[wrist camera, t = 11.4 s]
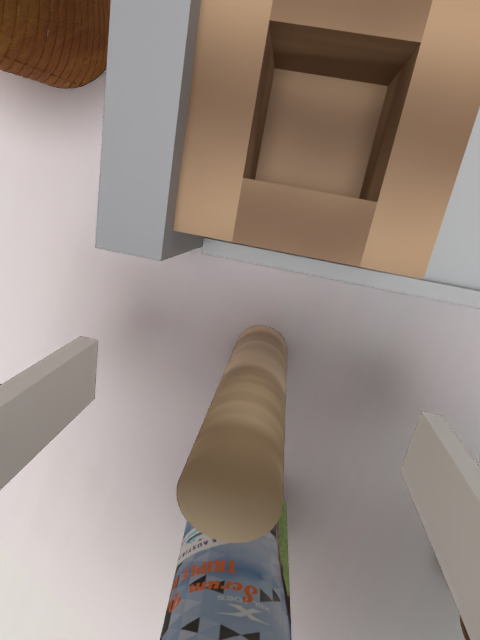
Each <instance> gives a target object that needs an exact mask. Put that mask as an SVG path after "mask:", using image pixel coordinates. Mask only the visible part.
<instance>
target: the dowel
mask: <svg viewBox="0 0 480 640" xmlns="http://www.w3.org/2000/svg"><path fill="white" fill-rule="evenodd" d="M286 370H287V346H286V342H285V340H284V338H283V337H282V336H281V334H280V333H279V332H277V331H276V330H274V329H272V328H270V327H267V326H255V327H251V328H249V329H247V330H246V331H244V332H243V333H242V334H241V336H240V337H239V339H238V341H237V343H236V346H235V348H234V350H233V353H232V355H231V357H230V360H229V362H228V365H227V367H226V369H225V372H224V374H223V376H222V379H221V381H220V383H219V386H218V388H217V391H216V393H215V395H214V398H213V400H212V402H211V405H210V407H209V410H208V412H207V414H206V417H205V419H204V421H203V424H202V426H201V428H200V431H199V433H198V436H197V438H196V440H195V443H194V445H193V447H192V450H191V452H190V455H189V457H188V459H187V462H186V464H185V466H184V469H183V471H182V474H181V476H180V478H179V481H178V484H177V492H176V493H177V501H178V505H179V507H180V510H181V512H182V514H183V515H184V517H185V518H186V520H187V521H188V522H189V523H190V524H191V525H192V526H193V527H194V528H195V529H197V530H198V531H199V532H201V533H202V534H204V535H206V536H208V537H210V538H213V539H215V540H219V541H223V542H229V543H243V542H249V541H253V540H255V539H258V538H260V537H262V536H264V535H265V534H267V533H268V532H269V531H270V530H271V529H272V528H273V527H274V526H275V525H276V524H277V522H278V520H279V518H280V515H281V512H282V503H283V470H284V436H285V403H286Z"/></svg>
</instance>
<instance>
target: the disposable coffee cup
mask: <svg viewBox="0 0 480 640" xmlns="http://www.w3.org/2000/svg"><path fill="white" fill-rule="evenodd" d="M110 5H111V0H0V70H3V71H5V72H10V73H13V74H15V75H19V76H23V77H25V78H29V79H32V80H35V81H39V82H41V83H45V84H48V85H50V86H53V87H58V88H75V87H80V86H83V85H85V84H87V83H88V82H90V81H92V80H94V79H95V78H97V77H98V76H99V75H100V74H101V73H102V72H103V71H104V70H105V68H106V67H107V53H108V37H109V21H110Z"/></svg>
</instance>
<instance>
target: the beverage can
mask: <svg viewBox="0 0 480 640" xmlns="http://www.w3.org/2000/svg"><path fill="white" fill-rule="evenodd" d="M160 640H291V616H290V590H289V564H288V538H287V512H286V504H285V500H284V498H283V503H282V512H281V515H280V518H279V520H278V522H277V524H276V525H275V526H274V527H273V528H272V529H271V530H270V531H269V532H268V533H267V534H265V535H264V536H262V537H260V538H258V539H255V540H253V541H249V542H243V543H229V542H223V541H219V540H215V539H213V538H210V537H208V536H206V535H204V534H202V533H201V532H199V531H198V530H197V529H195V528H194V527H193V526H192V525H191V524H190V523H189V522H188V521H187V524H186V528H185V533H184V537H183V541H182V546H181V550H180V554H179V559H178V563H177V567H176V572H175V576H174V580H173V585H172V589H171V594H170V598H169V602H168V607H167V611H166V615H165V620H164V624H163V628H162V633H161V637H160Z"/></svg>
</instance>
